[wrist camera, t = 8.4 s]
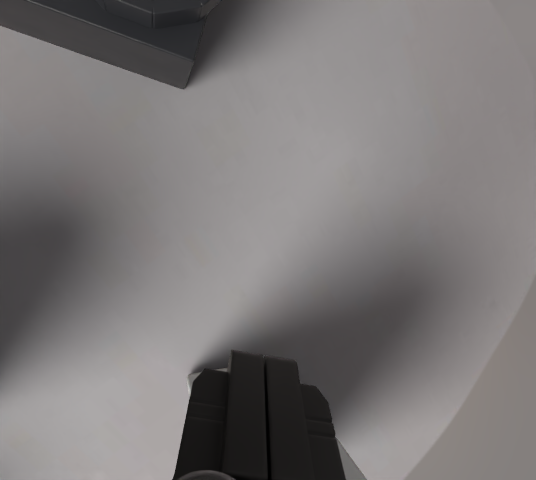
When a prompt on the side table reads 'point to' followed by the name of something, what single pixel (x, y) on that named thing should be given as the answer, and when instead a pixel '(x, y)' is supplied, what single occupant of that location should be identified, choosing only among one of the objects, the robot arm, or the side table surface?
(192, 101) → the side table surface
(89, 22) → the dark gray box
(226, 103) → the side table surface
